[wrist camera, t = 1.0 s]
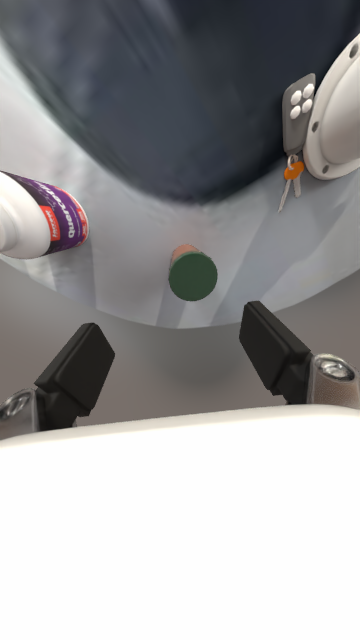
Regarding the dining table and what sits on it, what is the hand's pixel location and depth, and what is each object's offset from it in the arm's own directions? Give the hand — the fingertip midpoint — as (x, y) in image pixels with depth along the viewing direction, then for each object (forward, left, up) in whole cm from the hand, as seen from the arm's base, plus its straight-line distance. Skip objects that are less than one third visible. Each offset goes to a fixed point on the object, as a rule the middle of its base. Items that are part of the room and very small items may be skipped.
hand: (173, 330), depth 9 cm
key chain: (-21, -8, -24) cm, 33 cm away
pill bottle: (+15, -10, -23) cm, 30 cm away
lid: (-3, +2, -13) cm, 13 cm away
